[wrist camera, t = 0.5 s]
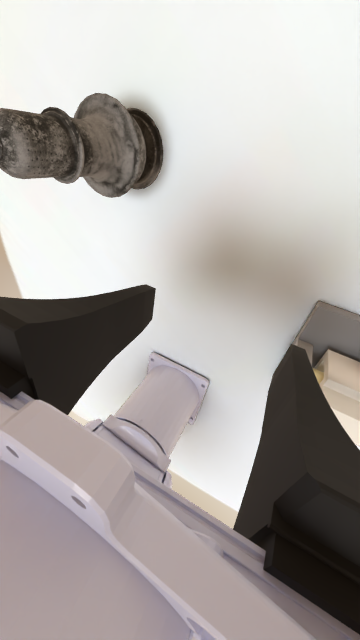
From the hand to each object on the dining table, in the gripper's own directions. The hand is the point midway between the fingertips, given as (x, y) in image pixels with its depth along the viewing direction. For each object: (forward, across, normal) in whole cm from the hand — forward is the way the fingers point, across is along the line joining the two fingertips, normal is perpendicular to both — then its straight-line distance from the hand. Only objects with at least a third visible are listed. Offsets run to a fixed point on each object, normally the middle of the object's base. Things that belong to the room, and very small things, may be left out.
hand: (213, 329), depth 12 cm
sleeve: (+8, -9, +5) cm, 14 cm away
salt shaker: (+10, +12, -6) cm, 17 cm away
